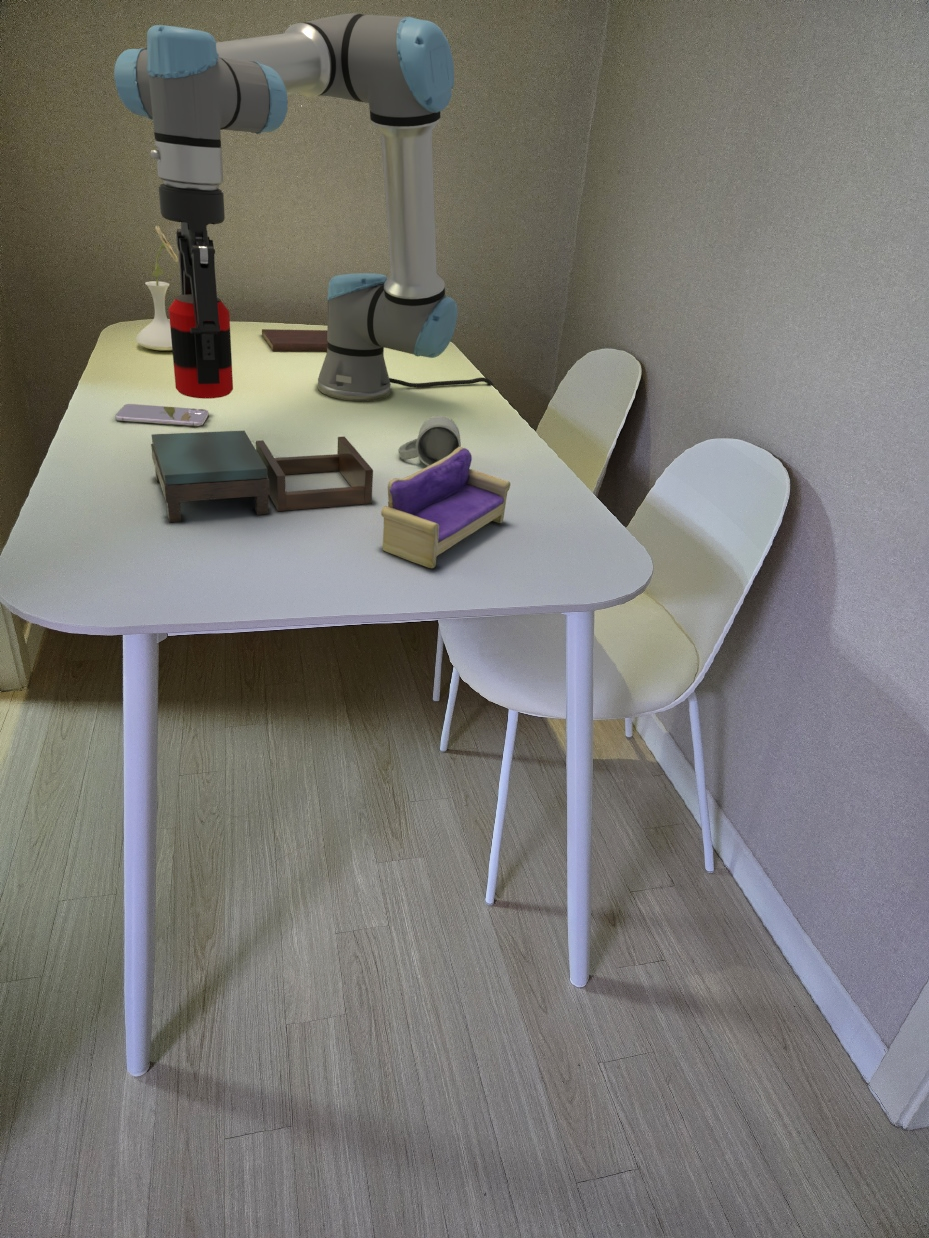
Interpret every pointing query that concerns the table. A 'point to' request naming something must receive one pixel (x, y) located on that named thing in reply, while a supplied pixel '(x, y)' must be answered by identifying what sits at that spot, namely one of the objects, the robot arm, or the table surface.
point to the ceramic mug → (433, 441)
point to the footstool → (208, 469)
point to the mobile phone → (162, 415)
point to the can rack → (343, 461)
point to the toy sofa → (440, 508)
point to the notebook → (296, 340)
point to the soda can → (186, 352)
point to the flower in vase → (158, 308)
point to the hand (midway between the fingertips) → (203, 373)
